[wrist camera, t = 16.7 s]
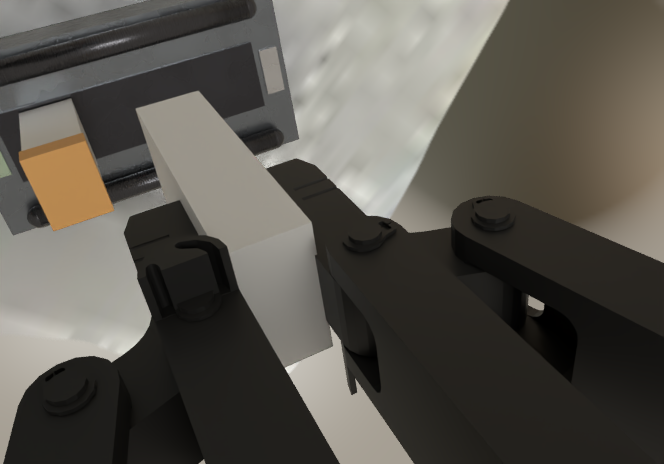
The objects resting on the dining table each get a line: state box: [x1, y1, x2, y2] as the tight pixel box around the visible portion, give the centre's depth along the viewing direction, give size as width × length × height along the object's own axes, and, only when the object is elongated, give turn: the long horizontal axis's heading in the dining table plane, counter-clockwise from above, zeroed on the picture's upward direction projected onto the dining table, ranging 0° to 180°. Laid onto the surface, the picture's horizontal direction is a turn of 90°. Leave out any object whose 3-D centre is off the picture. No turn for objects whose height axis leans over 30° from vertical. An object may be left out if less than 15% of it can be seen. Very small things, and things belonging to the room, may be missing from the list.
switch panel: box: [0, 0, 299, 235], centre depth 40 cm, size 20×11×4 cm, turn 100°
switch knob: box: [19, 99, 114, 231], centre depth 35 cm, size 3×4×7 cm
